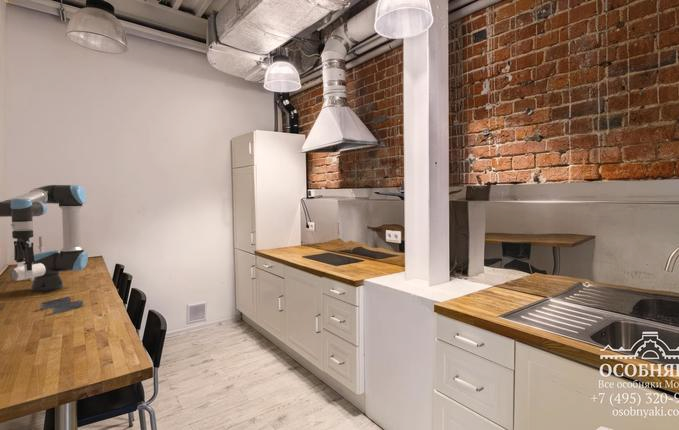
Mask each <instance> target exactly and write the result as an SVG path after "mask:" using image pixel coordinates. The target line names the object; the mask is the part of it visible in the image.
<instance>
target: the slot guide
mask: <svg viewBox="0 0 679 430" xmlns="http://www.w3.org/2000/svg"><path fill="white" fill-rule="evenodd" d="M83 303H84V301H83V300H80V299H79V300H74V301H71V297H69V296H65V297H61V298H56V299H53V300H49V301H44V302H40V304H39V307H40V310H43V311H44V310H49V309H52V310H51V311H52V312H51V313H52V314H55V315H57V314H60V313H64V312H68V311H72V310H75V309H80V308H82V307H84V305H83Z"/></svg>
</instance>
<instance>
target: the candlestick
mask: <svg viewBox="0 0 679 430" xmlns="http://www.w3.org/2000/svg"><path fill="white" fill-rule="evenodd" d="M38 244H39V245H38V246H37V247H38V249H39V253H41V252H45V251H44V249H45V245H44V236H39V237H38ZM33 280H34V277H33V278H29V281H30V282H33Z"/></svg>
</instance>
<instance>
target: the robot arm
mask: <svg viewBox="0 0 679 430" xmlns="http://www.w3.org/2000/svg"><path fill="white" fill-rule="evenodd" d="M85 203H87V193H86V191H85V189H84V188H83V187H82V186H81V185H75V184H66V185H65V184H50V185H49V184H48V185H44V186H40V187H36V188H33V189H31V190H30V191H28V192H26V193H24V194H21V195H18V196H15V197H11V198H9V199H6V200H2V201H0V218H1V217H3V218H4V217H5V218H6V217H7V218H8V217H11V223H10V227H11V229H12V231H11V232H12V234H11V235H12V239H14V240H15V239H16V240H15V241H13V247H14V251H13V252H14V257H13V258H14V261H16V268H17V267H22V266H24V268H25V278H26V277H32V276H33V272H32V265H33V264H38V263H41V264H43V265H44V266H45V268H46V272H45V274H44V275H42V276H38V277H34V280H33V281H32V283H31V285H30V291H31V292H36V293H37V292H38V293H41V292H42V293H43V292H49V291H55V290H59V289H61V288H63V287H64V282H63V280H62V278H61V276H60V272H71V271H73V272H76V271H82V270H84V269H85V267H86V266H87V264H88V261H89V254H88V252H87V251H85V250H84V248H83V247H82V246H81V245H82V244H81V241H82V240H81V218H80V217H81V214H80V213H81V212H80V210H81V209H82V208H83V205H84V204H85ZM47 204H56V205H57V204H58V207H59V208H60V209H61V215H62V216H61V217H62V219H61V220H62V244H63V245H62V248H61V249H60V250H59V251H58V250H55V249H54V250H53V249H52V250H47V251H44V252H41V253H40V252H38V253H34V242H31V240H30V239H31V238H33V237H34V230H33V229H34V221H33V217H41V216H44V215H45V214H46V213H47V211H48V207H47Z"/></svg>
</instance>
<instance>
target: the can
mask: <svg viewBox="0 0 679 430" xmlns="http://www.w3.org/2000/svg"><path fill="white" fill-rule="evenodd" d="M32 272H33V276H32V277H26V278H25V268H24V266H22V267H17V266H16V267H14V268H12V269H10V271H9V277H10V279H11V280H12V281H22V280H28V279H31V278H33V277H38V276H42V275H44V274H45V272H46V268H45V266H44V265H43V264H41V263H38V264H34V263H32Z"/></svg>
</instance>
